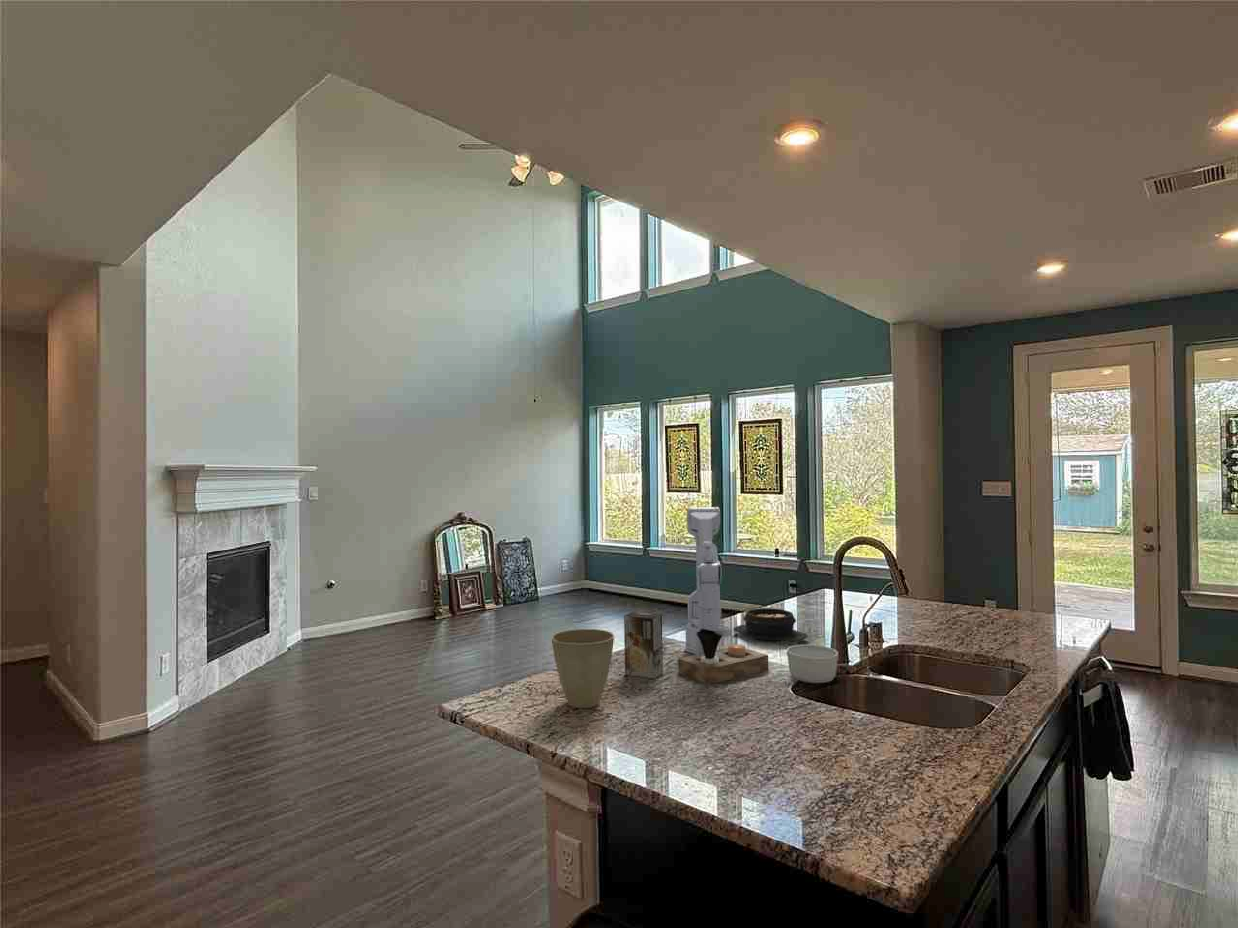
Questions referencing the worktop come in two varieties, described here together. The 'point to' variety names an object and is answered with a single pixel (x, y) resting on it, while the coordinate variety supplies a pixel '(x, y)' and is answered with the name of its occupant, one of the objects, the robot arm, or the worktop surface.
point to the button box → (722, 666)
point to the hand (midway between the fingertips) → (709, 658)
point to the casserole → (770, 626)
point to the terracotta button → (736, 650)
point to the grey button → (709, 660)
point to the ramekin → (812, 663)
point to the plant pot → (583, 664)
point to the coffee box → (643, 644)
